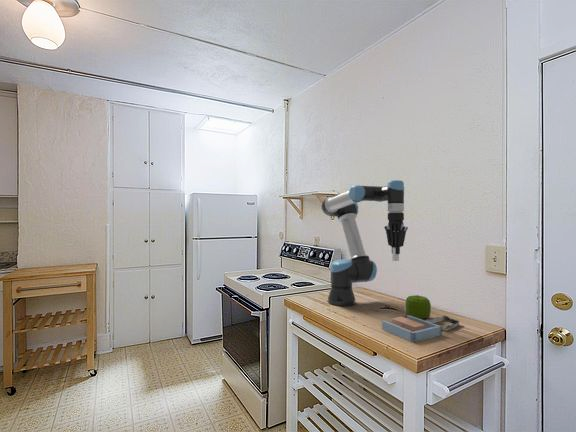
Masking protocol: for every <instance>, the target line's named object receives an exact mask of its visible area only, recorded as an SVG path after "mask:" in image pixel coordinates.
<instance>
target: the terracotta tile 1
mask: <svg viewBox="0 0 576 432" xmlns="http://www.w3.org/2000/svg"><path fill="white" fill-rule="evenodd" d="M408 321H413V320H410V319H407V317H404V316H397V317H393V318H391V322H390V323H392V324H395V325H397V326H400V327H402V328H403V322H408Z"/></svg>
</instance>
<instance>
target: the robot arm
mask: <svg viewBox="0 0 576 432" xmlns="http://www.w3.org/2000/svg"><path fill="white" fill-rule="evenodd" d="M386 185H387V186H386ZM386 185H385V186H375V185H359V184H358V185H352V186H351V187H350V188H349V190H347V191H345V192H342V193H340V194H338V195H336V196H334V197H333V196H329V197H327V198H325V199H324V200H323V201H322V202H321V210H322V212H323V213H324V214H325V215H326V216H328V217H337V220H338V222H339V223H341V225H342V229H343V233H344V236H345V240H346V245H347V248H348V252H349V254H350V259H347V258H345V259H337V260H334V261H332V262H331V265H330V290H329V293H328V297H327V303H329V304H330V305H333V306H342V307H347V306H348V307H350V306H353V305H355V304H356V298H355V294H354V290H353V283H367V282H368V283H369V282H372V281H374V279H375V278H376V275H377V272H378V268H377V264H376V262H375V261H373V260H371V259H370V256H369V255H367V254H366V251H365V249H364V245H363V241H362V238H361V235H360V234H361V233H360V231H359V228H358V224H357V221H356V219H357V215H358V213H359V205H358V203H361V202H363V201H364V202H367V201H368V202H378V203H379V202H381V203H382V202H387V212H388V213H387V220H388V223H387V225H385V226H384V227H383V228H384V230H385V234H386V239H387V245H388V246H390V247H391V255H392V261H393V262H399V261H400V255H401V247H404V244H405V240H406V239H405V238H406V233H407V231H408V228H409V227H408V226H405V225H404V220H405V213H404V211H405V184H404V181H403V180H397V179H396V180H389V181H388V182H387V184H386Z"/></svg>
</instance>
